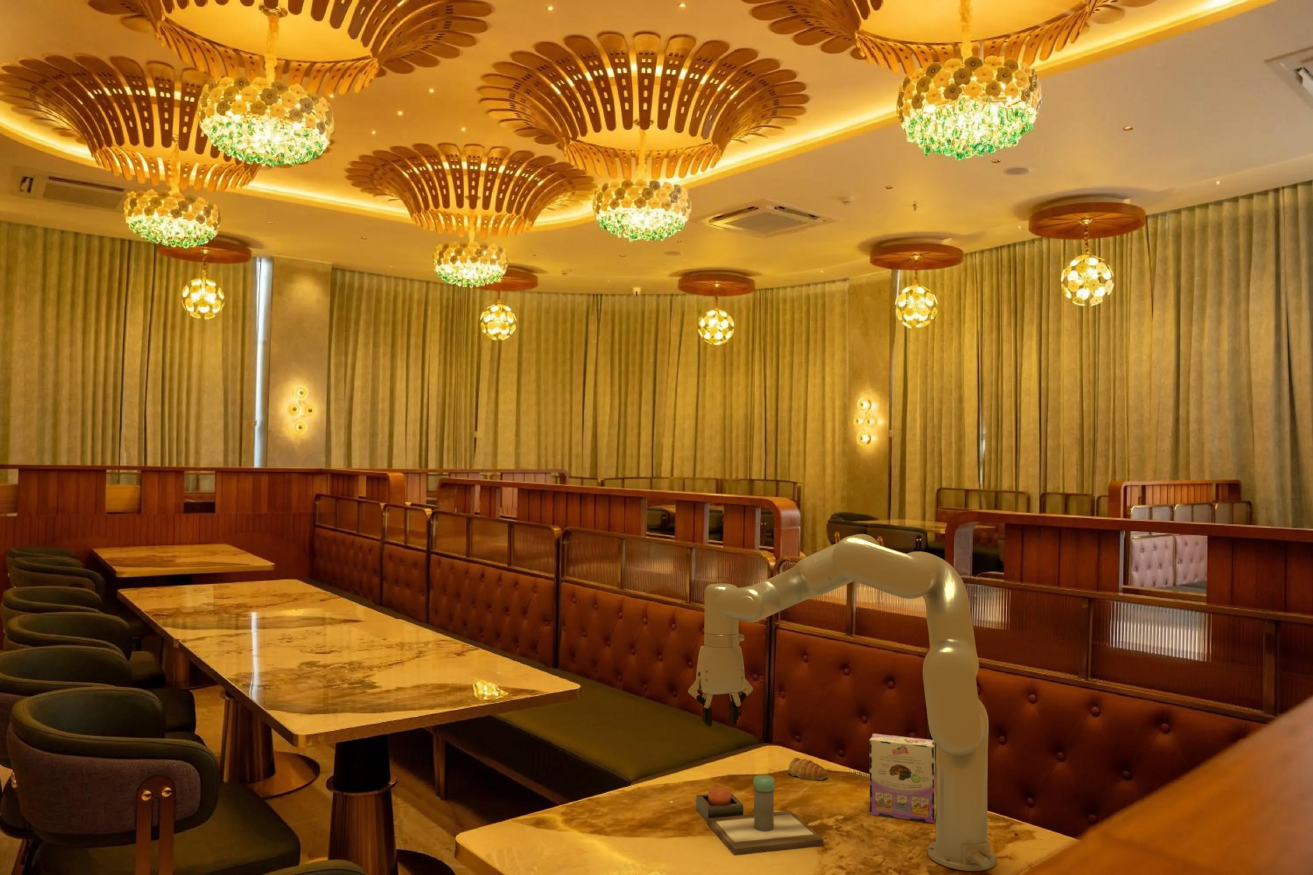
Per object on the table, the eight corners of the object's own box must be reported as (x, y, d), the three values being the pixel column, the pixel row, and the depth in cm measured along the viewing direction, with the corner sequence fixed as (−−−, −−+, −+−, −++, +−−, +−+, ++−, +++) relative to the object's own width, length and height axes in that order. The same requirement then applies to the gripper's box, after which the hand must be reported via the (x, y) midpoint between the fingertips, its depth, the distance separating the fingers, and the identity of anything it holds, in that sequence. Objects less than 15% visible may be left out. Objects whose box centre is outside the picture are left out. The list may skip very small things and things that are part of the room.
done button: (734, 805, 194) (734, 793, 194) (712, 807, 193) (712, 795, 193) (726, 797, 199) (726, 786, 199) (704, 798, 198) (705, 787, 198)
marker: (777, 830, 183) (777, 780, 183) (758, 832, 182) (758, 782, 182) (769, 822, 187) (769, 773, 187) (750, 824, 186) (750, 775, 186)
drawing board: (823, 845, 179) (823, 838, 179) (734, 854, 174) (734, 847, 174) (790, 816, 195) (790, 809, 195) (707, 824, 190) (707, 817, 190)
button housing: (743, 818, 193) (743, 804, 193) (708, 822, 191) (708, 807, 191) (730, 805, 201) (730, 791, 201) (696, 808, 198) (696, 794, 199)
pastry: (832, 777, 222) (832, 761, 222) (819, 784, 216) (819, 768, 216) (798, 769, 227) (798, 753, 228) (785, 776, 222) (785, 760, 222)
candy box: (936, 814, 197) (936, 738, 198) (934, 824, 191) (934, 746, 192) (872, 805, 202) (872, 731, 203) (868, 814, 196) (868, 738, 197)
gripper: (751, 636, 203) (750, 717, 202) (679, 638, 199) (678, 722, 198) (764, 642, 196) (763, 726, 195) (689, 645, 191) (688, 731, 191)
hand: (720, 723), depth 197 cm, fingers open, 5 cm apart
